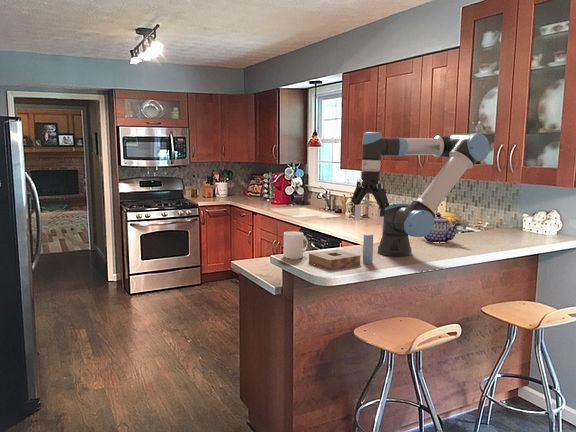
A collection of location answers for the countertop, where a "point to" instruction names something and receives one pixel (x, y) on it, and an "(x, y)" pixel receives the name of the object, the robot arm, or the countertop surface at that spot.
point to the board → (334, 259)
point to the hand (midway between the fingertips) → (368, 222)
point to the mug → (294, 245)
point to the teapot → (442, 230)
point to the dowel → (368, 249)
